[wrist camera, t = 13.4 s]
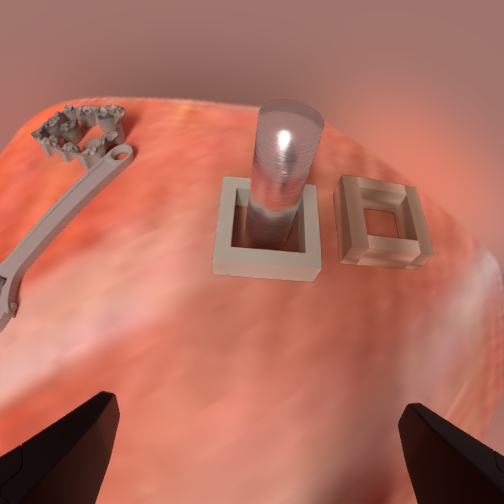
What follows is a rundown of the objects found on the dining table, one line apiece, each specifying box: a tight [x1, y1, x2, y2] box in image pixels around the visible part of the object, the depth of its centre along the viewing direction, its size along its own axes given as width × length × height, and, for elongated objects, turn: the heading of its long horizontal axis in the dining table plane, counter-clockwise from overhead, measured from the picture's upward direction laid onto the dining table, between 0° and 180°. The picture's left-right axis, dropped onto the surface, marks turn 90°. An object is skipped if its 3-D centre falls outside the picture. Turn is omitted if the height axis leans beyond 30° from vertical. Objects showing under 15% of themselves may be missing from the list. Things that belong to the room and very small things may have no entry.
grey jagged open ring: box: [31, 105, 126, 170], centre depth 30 cm, size 11×8×4 cm
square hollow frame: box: [212, 176, 322, 282], centre depth 26 cm, size 8×8×2 cm
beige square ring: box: [333, 175, 434, 269], centre depth 27 cm, size 8×7×3 cm
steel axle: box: [244, 100, 324, 251], centre depth 21 cm, size 4×4×12 cm
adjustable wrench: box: [0, 144, 134, 333], centre depth 25 cm, size 25×6×2 cm, turn 143°
